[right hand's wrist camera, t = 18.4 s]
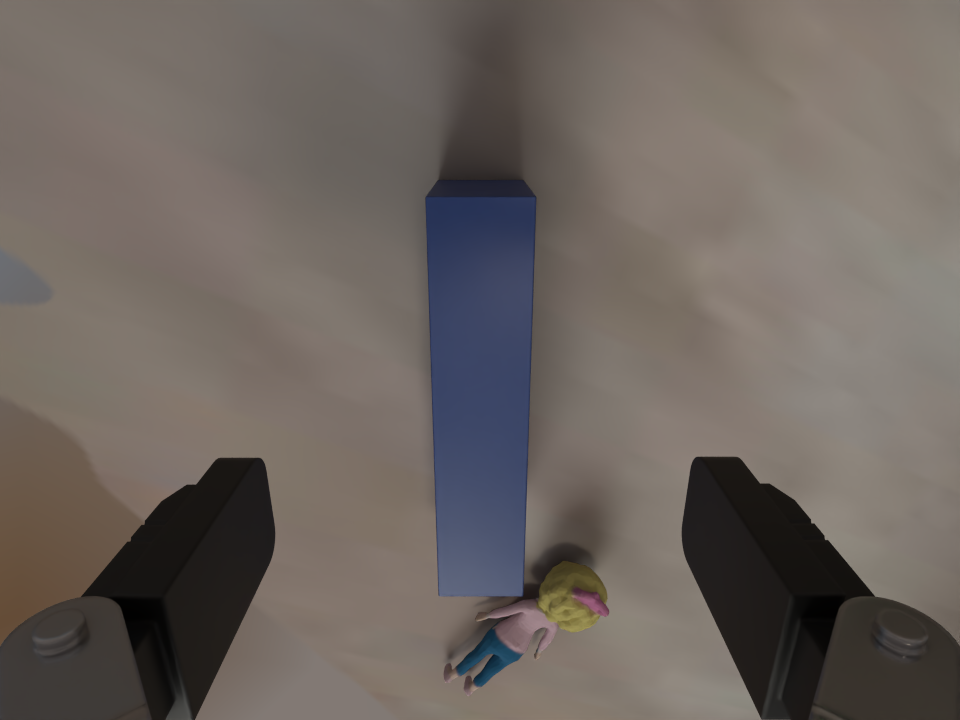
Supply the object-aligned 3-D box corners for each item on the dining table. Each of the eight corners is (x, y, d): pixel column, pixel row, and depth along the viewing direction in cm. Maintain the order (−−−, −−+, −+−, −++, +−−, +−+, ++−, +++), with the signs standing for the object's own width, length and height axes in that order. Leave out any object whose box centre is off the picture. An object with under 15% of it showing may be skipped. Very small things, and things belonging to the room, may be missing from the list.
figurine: (486, 680, 48) (621, 574, 43) (485, 733, 44) (633, 624, 39) (429, 643, 47) (560, 530, 42) (421, 695, 43) (566, 577, 38)
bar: (437, 180, 34) (425, 196, 26) (523, 179, 34) (536, 196, 26) (446, 510, 42) (438, 596, 34) (515, 510, 42) (523, 596, 34)
